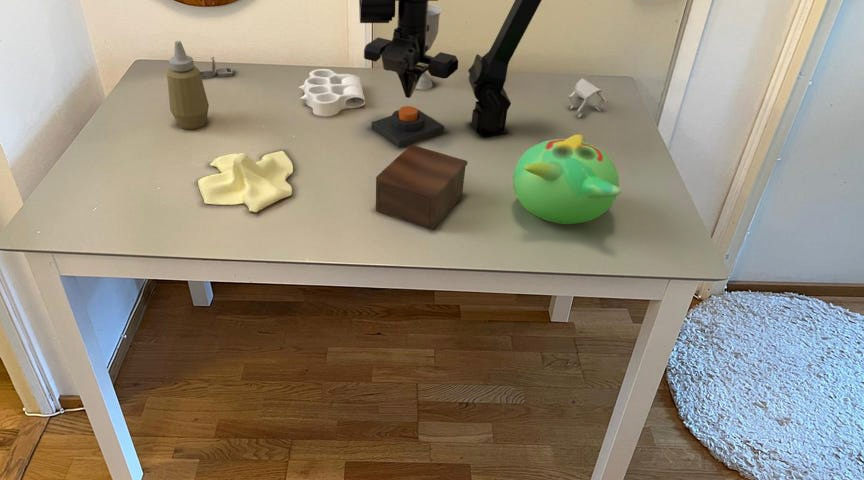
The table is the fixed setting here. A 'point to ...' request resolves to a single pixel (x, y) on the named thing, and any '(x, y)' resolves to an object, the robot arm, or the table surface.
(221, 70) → the strap clip
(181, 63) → the squeeze bottle
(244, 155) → the cloth
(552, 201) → the toy bird
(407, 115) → the button
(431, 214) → the tea box
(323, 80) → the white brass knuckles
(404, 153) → the lid
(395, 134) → the button block
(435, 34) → the chalice
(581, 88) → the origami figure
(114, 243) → the table surface
